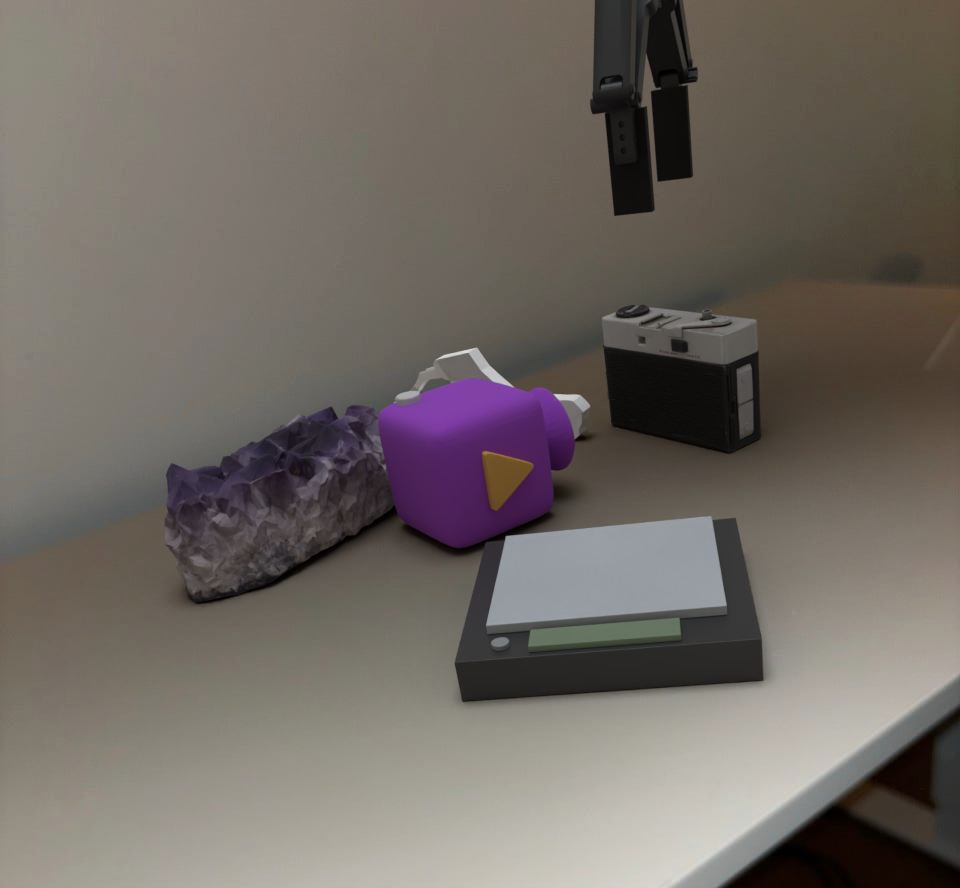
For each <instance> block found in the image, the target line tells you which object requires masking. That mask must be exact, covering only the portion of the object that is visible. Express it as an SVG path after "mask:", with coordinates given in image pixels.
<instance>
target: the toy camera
mask: <svg viewBox="0 0 960 888" xmlns="http://www.w3.org/2000/svg"><path fill="white" fill-rule="evenodd" d="M554 394H555V393H553V392H551V391H550V390H549V389H547V388H545V387H534V388H532V389H531V390H529V391H526V390H523V389H521V388H518V387H515V386H513V387H511V386H507V385H504V384H500V383H496V382H492V381H489V380H484V379H479V378H468V379H464V380H460V381H457V382H454V383H451V382H450V383H448V384H445V385H442V386H439V387H436V388H433V389H430V390H428V391H424V392H420V393H419V392H418V391H410V390H409V391H404V392H401V393H399V394H397V395H396V396H395V398H396V400H395V402H396V403H394V402H393V403H392V404H389V405H388V406H386V407H384V408H383V409H381V411H380V412H379V417H378V428H379V434H380V440H381V445H382V449H383V454H384V459H385V463H386V468H387V473H388V477H389V482H390V487H391V491H392V496H393V500H394V504H395V505H394V507H395V511H396V512H397V513H396V514H397V515H398V516H399V518H400V520H401V521H402V522H404V524H406V525H408V526H410V527H411V528H413V529H415V530H417V531H419V532H421V533H423V534H424V535H427V536H428V537H430V538H432V539H434V540H436V541H438V542H440V543H441V544H444V545H446V546H448V547H450V548H455V549H465V548H468V547H472V546H475V545H477V544H480V543H482V542H484V541H486V540H489V539H492V538H495V537H496V536H499V535H502V534H503V533H506V532H508V531H510V530H513V529H516V528H518V527H520V526H523V525H524V524H527V523H529V522H532V521H534V520H536V519H538V518H540V517H542V516H544V515H545V514H547V513H548V512H549V511H550V510H551V509H552V508H553V505H554V495H555V494H554V482H553V481H554V480H553V474H552V471H555V472H560V471H563V470H565V469H566V468H568V467H569V465H570V464H572V463H571V462H572V461H573V458H574V454H575V450H576V449H575V448H576V438H575V439H574V432H573V428H572V425H571V422H570V419H569V417H568V414H567V412H566V411H565V409H564V407H563V405H562V404H561V402H560V401H559V400H558V399H557V398H556V396H555V395H554Z"/></svg>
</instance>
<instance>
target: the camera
mask: <svg viewBox="0 0 960 888" xmlns="http://www.w3.org/2000/svg"><path fill="white" fill-rule="evenodd" d="M601 327H602V336H603V345H602V348H603V356H604V366H605V382H606V391H607V393H606V394H607V400H608V404H609V405H608V406H609V413H610V414H609V415H610V423H611V425H612V426H615V427H619V428H622V429H627V430H632V431H635V432H639V433H643V434H647V435H652V436H658V437H662V438H666V439H670V440H674V441H678V442H683V443H687V444H691V445H696V446H699V447H703V448H708V449H713V450H717V451H721V452H725V453H729V454H731V453H734V452H736V451H737V450H739V449H741V448H743V447H745V446H747V445H749V444H751V443H753V442H756V441H757V440H759V439H761V438H762V428H761V427H762V425H761V397H760V395H761V393H760V360H759V359H760V353H759V352H760V350H759V338H758V320H757V319H755V318H748V317H738V316H730V315H721V314H713V312H712V309H708V308H707V309H703V310H702V311H701V312H694V311H685V310H677V309H668V308H661V307H660V308H659V307H650V306H649V305H646V304H640V305H636V304H630V305H626V306H622V307H620V308H618V309H617V310H616V311H615V312H613V313H612V312H611V313H610V314H608V315H605V316H603V317H601Z"/></svg>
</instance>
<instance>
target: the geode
mask: <svg viewBox="0 0 960 888" xmlns="http://www.w3.org/2000/svg"><path fill="white" fill-rule="evenodd" d="M379 414H380V412H379V411H378V410H377V409H376V408H375V407H372V406H369V405H361V404H351V405H349V406H347V407H346V410H345V414H344V416H339V417H338V415H337V413H336V412H335V409H334V407H333V406H328V407H325V408H323V409H321V410H319V411H317V412H315V413H311V414H310V415H308V416H306V415H303V414H300V413H298V414H297V415H296V416H295V417H294V418H292V419H290V420H289V421H288V423H287V424H286V425H285V424H281V425H280V426H278V427H276V428H275V429H273V430H271V433H270V434H269V435H267V436H265V437H264V438H262V439H260V441H259V440H258V441H257V442H256V441H250V442H248V443H247V444H246V445H244V446H242V447H240V448H238V449H237V450H236V451H234V452H232V453H230V455H224V456H223V457H222V459H221V461H220V464H219V466H217V465H203V466H195V467H192V468H190V469H189V470H188V469H186V468H184V467H182V466H180V465H178V464H176V463H173V462H171V463H170V465H169V466H168V468H167V471H166V473H165V478H166V485H167V498H166V502H165V505H166V510H167V513H166V515H165V516H164V531H165V534H164V535H165V536H164V537H165V538H164V546H166V547H167V548H168V550H169V551H170V552H171V554H173V556H174V557H175V569H176V570H177V571H178V572H179V573H180V575H181V578H182V579H183V581H184V583H185V585H186V592H187V599H192V600H193V601H194V602H196V603H198V602H200V603H201V602H208V601H211V600H215V599H220V598H224V597H230V596H239V595H242V594H244V593H246V592H247V591H250V590H254V589H257V588H260V587H264V586H267V584H271V583H273V582H275V581H276V580H277V579H279V578H280V577H281V576H283V575H284V574H286V573H287V572H289V571H290V570H292V569H294V568H296V567H297V566H299V565H300V564H302V563H304V562H306V561H307V560H309V559H311V557H314V556H315V555H317V554H320V553H322V552H323V551H325V550H327V549H328V548H330V547H332V546H334V545H337V544H339V543H341V542H342V541H343V540H344V539H345V538H346V537H347V536H356V535H357V534H359V532H360V531H361V529H362V528H365V527H367V526H370V525H372V523H373V522H374V521H375V520H377V519H379V518H380V517H382V516H384V515H385V514H386V513H388V512H389V511H391V510H392V508H393V507H395V504H394V500H393V496H392V491H391V487H390V482H389V477H388V473H387V468H386V463H385V459H384V454H383V449H382V445H381V440H380V434H379V428H378V417H379Z"/></svg>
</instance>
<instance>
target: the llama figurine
mask: <svg viewBox="0 0 960 888" xmlns="http://www.w3.org/2000/svg"><path fill="white" fill-rule="evenodd" d="M468 378H479V379H484V380H489V381H492V382H496V383H500V384H504V385H507V386H511V387H514V385H512V384H511V383H510V382H509V381H508V380H507V379H506V378H504V377H503V376H502V375H501V374H500V373H499V372H497V371H496V369H494V368H493V367H492V366H491V365H490V363H488V361H487V360H486V358H485V356H484V355H483V354H482V353H481V351H480V350H479V348H478V347H474V348H469V349H465V350H459V351H456V352H451V353H446V354H443V355H441V356H440V357H438V358H436V359H434V362H433V364H432V366H431V367H427V368H425V370H424V371H420V372H419V373H418V376H417V379H416V381H415V384H413V386H412V387H411V389H410V390H409V391H418V392H419V393H420V394H421V393H422V391H423V390H424V388H425V386H426V385H427V384H428V382H429V381H430V380H437V379H443V380H445V381H449V382H450V384H451V383H454V382H457V381H460V380H464V379H468ZM553 394H554V395H555V396H556V398H557V399H558V400H559V401H560V402H561V404H562V405H563V407H564V409H565V411H566V412H567V414H568V417H569V419H570V422H571V425H572V428H573V432H574V439H575V440H576V439H577V438H578V437H579V436H581V434H583V433H584V432H586V431H587V430H588V428H587V423H588V421H589V419H590V417H591V415H590V414H591V412H590V411H591V410H590V408H591V405H590V403H589V402H588V401H587V400H586V399H585V398H584V397H583V396H582V395H581V394H575V393H574V394H573V393H572V394H561V393H553ZM394 400H395V401H394V402H393V404H394V403H396V397H395V398H394Z"/></svg>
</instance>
